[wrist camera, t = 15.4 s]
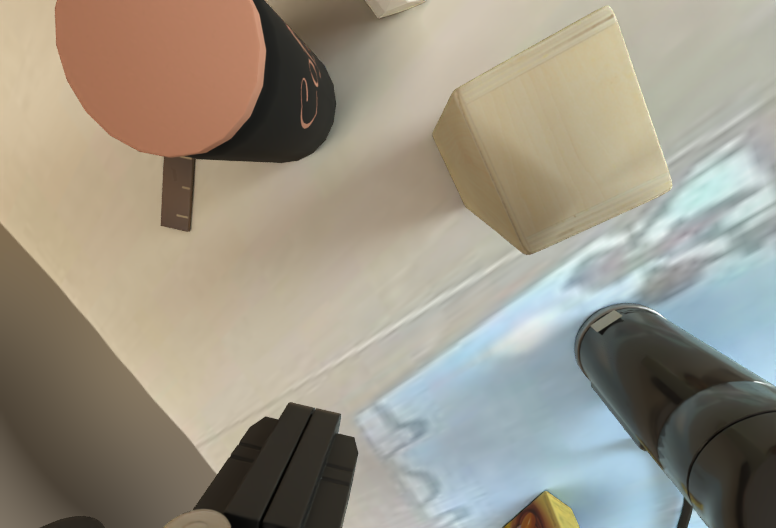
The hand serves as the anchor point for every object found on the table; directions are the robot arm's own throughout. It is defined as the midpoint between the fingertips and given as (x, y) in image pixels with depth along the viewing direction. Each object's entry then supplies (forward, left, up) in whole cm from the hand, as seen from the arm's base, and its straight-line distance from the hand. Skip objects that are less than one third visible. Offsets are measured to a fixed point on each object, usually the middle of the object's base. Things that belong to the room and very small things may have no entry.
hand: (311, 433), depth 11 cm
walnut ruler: (+12, +20, -29) cm, 37 cm away
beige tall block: (+7, -10, -29) cm, 31 cm away
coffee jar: (+15, +8, -29) cm, 33 cm away
